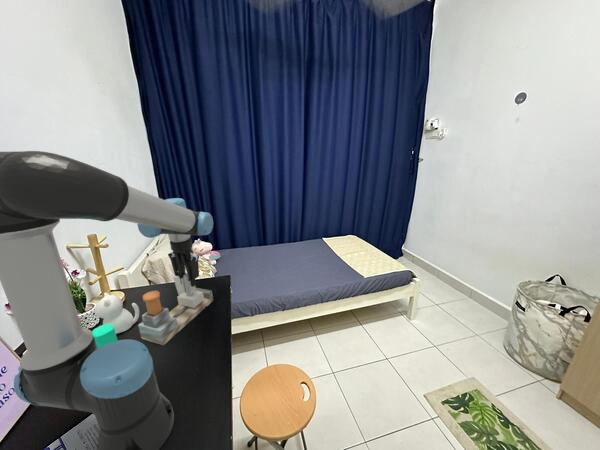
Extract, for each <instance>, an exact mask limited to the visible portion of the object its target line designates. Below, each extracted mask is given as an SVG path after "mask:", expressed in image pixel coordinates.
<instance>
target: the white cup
mask: <svg viewBox="0 0 600 450" xmlns="http://www.w3.org/2000/svg"><path fill="white" fill-rule="evenodd" d="M177 272H178V271H177ZM185 273H186V274H187V270H186V268H185ZM172 277H173V280H174V285H175V288H176V292H177V294H178V296H179V295H180V294H182V293H183V288H182V284H181V281H180V278H179V276H175V274H174V273H173V274H172Z"/></svg>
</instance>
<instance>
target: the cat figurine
mask: <svg viewBox="0 0 600 450" xmlns="http://www.w3.org/2000/svg"><path fill="white" fill-rule="evenodd" d="M123 304H124V302H123V301H122V299H121V298H120V296H118V295H114V294H109V293H108V292H104V293H103V297H102V298H101V299H100V300H99V301H98V302H97V304H96V305H95V307H94V314H95V316H96V317H98V318H101V319H103V320H102V325H104V324H111V325H113V326H114V329H115V333H116V335H117V334H120V333H124V332H126V331H128V330H129V329H130V328H131V327H132V326H133V325H134V324H135V323H136V322H137V321H138V320H139V317H140V308H139V306H138V304H137V303H136V302H132V303H131V306H132V308H133V310H134V317H133V315H132V313H131V312H130V311H129V310H127V309H126V308H124V307H123Z"/></svg>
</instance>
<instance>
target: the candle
mask: <svg viewBox="0 0 600 450" xmlns="http://www.w3.org/2000/svg"><path fill="white" fill-rule="evenodd" d="M91 331H92V333H93V336H94V339H95V342H96V345H97V347H98V348H100V347H102V346H104V345H106V344H108V343H111V342H112V343H116V342H117V341H118V340H119V339H118V337H117V334H116V333H115V329H114V326H113V325H111V324H104V325H103V324H102V325H101V324H100V325H99V326H98V327H95V328H94V329H93V330H91Z"/></svg>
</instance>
